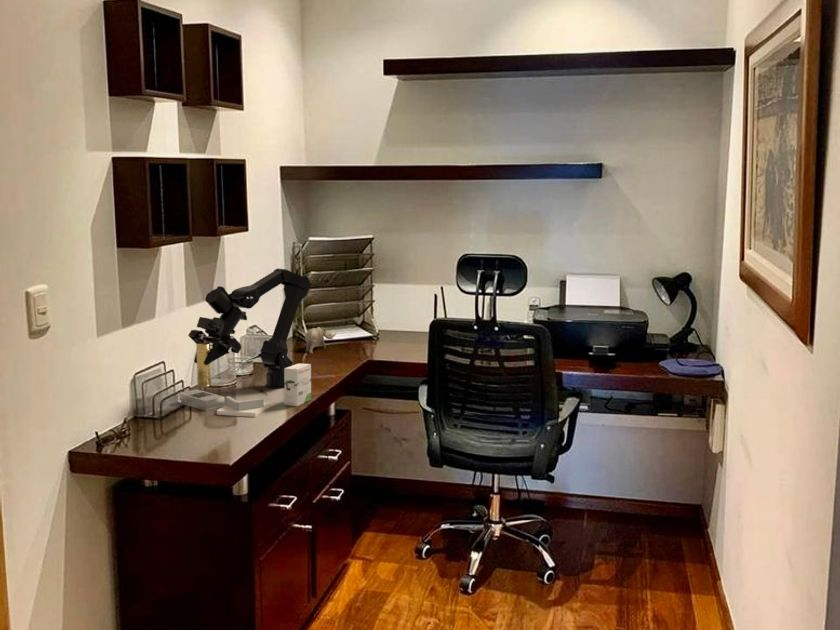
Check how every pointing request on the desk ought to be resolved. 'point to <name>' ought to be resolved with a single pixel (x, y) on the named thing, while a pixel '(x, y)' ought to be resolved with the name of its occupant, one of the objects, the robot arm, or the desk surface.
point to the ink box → (297, 384)
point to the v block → (243, 407)
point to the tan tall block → (203, 365)
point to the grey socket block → (202, 399)
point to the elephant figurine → (317, 338)
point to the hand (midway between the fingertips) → (200, 363)
